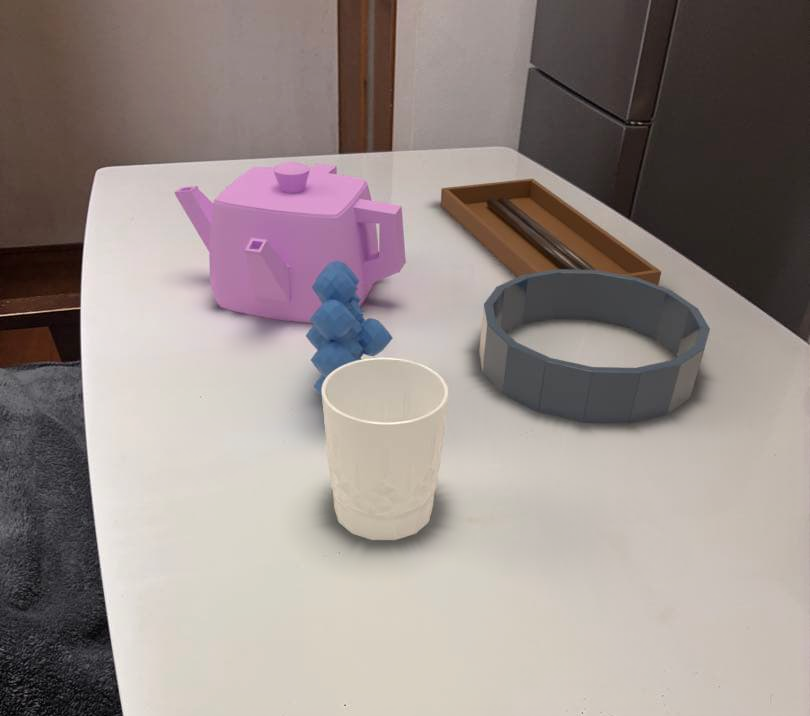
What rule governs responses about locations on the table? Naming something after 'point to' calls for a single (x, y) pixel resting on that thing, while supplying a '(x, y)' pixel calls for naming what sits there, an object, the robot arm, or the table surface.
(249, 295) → the teakettle
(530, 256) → the tray
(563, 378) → the ring
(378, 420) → the white cup
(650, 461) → the table surface
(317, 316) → the grapes
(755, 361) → the table surface
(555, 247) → the chopsticks
